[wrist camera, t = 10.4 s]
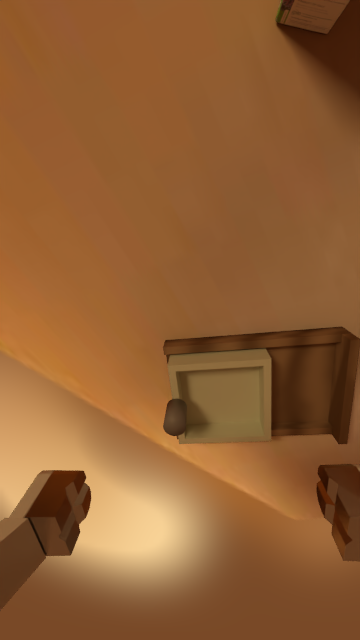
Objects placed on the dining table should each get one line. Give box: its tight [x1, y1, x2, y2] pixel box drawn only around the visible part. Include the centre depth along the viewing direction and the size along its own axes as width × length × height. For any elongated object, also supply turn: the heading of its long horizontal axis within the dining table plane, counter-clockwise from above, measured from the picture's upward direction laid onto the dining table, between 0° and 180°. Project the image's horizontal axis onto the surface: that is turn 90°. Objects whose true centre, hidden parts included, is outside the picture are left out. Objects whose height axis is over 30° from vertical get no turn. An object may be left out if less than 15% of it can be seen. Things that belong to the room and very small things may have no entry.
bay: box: [163, 327, 360, 444], centre depth 38 cm, size 26×17×4 cm, turn 97°
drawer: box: [163, 348, 271, 444], centre depth 36 cm, size 15×14×8 cm
